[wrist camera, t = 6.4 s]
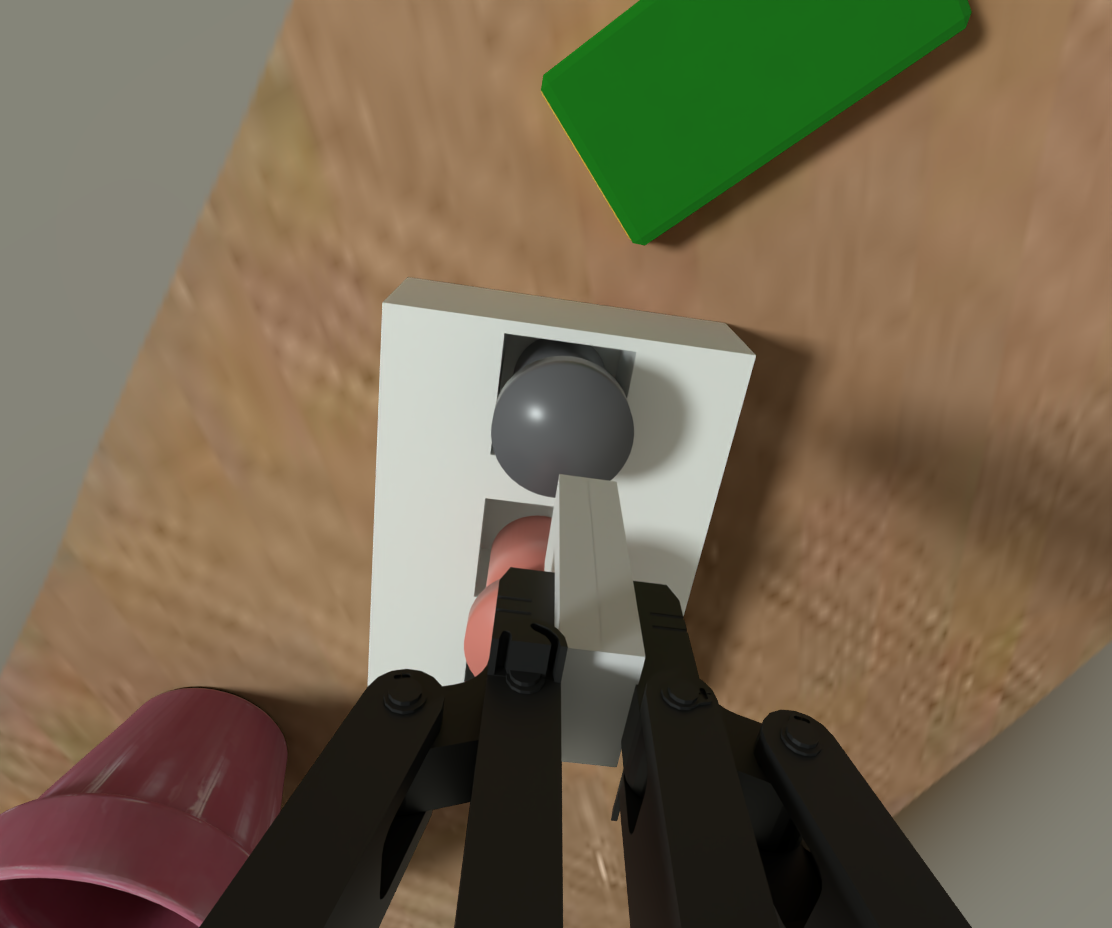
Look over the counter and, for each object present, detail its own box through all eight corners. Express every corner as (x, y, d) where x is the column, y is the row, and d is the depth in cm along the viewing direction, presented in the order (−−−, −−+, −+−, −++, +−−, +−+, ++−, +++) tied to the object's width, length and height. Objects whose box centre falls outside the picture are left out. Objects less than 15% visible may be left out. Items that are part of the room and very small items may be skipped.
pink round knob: (604, 512, 29) (617, 599, 23) (584, 608, 31) (592, 709, 26) (485, 498, 29) (470, 583, 23) (473, 596, 31) (458, 695, 25)
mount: (725, 323, 31) (756, 355, 26) (637, 669, 39) (649, 739, 34) (407, 277, 30) (382, 302, 25) (388, 643, 38) (366, 711, 33)
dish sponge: (941, 31, 26) (976, 21, 24) (631, 243, 29) (637, 251, 27) (866, -170, 24) (899, -201, 22) (536, 85, 27) (535, 80, 25)
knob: (628, 331, 29) (647, 376, 23) (607, 440, 31) (619, 505, 25) (508, 314, 28) (499, 356, 23) (495, 426, 30) (484, 489, 25)
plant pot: (382, 755, 42) (319, 992, 30) (231, 854, 45) (123, 1099, 34) (190, 606, 37) (26, 822, 25) (39, 731, 41) (-164, 968, 29)
